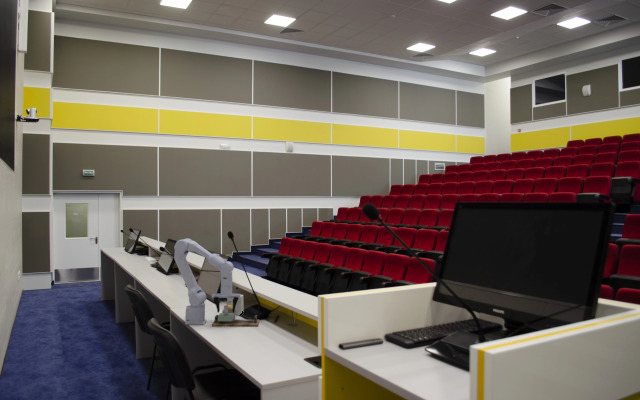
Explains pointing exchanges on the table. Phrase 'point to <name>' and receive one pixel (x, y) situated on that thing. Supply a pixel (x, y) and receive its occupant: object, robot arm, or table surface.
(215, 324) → the rail bed
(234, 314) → the gauge cabinet
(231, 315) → the carriage
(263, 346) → the table surface
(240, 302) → the small box
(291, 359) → the table surface
